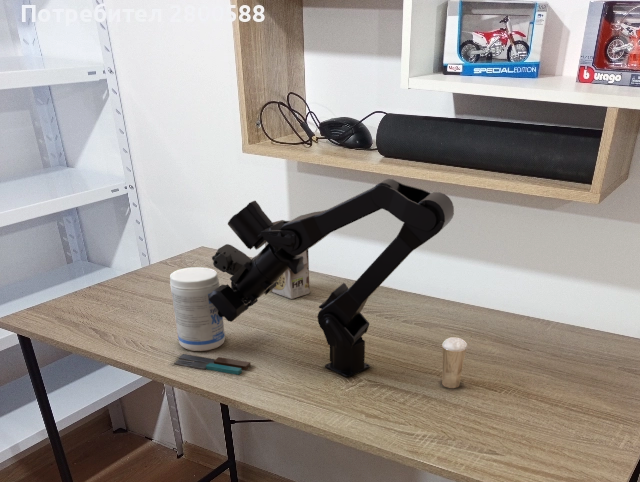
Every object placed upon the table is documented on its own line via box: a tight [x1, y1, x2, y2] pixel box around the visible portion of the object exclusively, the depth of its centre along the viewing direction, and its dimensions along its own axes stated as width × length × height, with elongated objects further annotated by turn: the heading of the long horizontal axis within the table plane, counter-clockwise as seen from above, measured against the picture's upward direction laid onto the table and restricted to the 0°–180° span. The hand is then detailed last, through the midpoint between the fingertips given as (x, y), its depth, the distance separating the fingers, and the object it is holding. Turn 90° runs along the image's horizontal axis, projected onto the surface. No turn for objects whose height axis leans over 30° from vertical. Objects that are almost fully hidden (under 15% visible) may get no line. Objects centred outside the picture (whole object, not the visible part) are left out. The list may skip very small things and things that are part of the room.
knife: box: [178, 353, 252, 371], centre depth 135 cm, size 15×2×1 cm, turn 71°
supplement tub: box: [169, 266, 226, 352], centre depth 139 cm, size 10×10×15 cm
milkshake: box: [441, 336, 472, 389], centre depth 126 cm, size 4×5×10 cm
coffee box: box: [264, 219, 311, 300], centre depth 164 cm, size 9×6×16 cm
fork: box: [173, 358, 243, 376], centre depth 133 cm, size 14×2×1 cm, turn 71°
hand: (219, 314), depth 138 cm, fingers closed
